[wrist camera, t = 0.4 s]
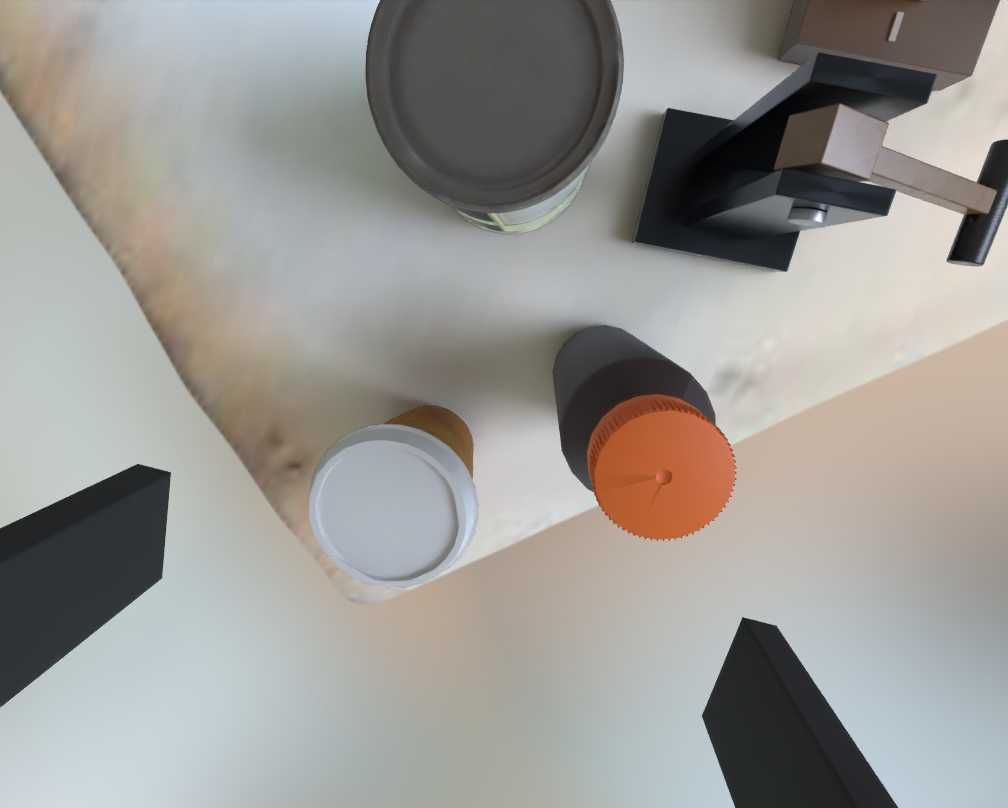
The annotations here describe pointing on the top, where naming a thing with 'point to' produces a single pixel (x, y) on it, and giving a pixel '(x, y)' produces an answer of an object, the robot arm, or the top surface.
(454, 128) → the coffee can
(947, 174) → the door handle
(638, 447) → the bottle
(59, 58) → the top surface
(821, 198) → the bracket
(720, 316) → the top surface
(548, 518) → the top surface
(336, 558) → the disposable coffee cup
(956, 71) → the plate
